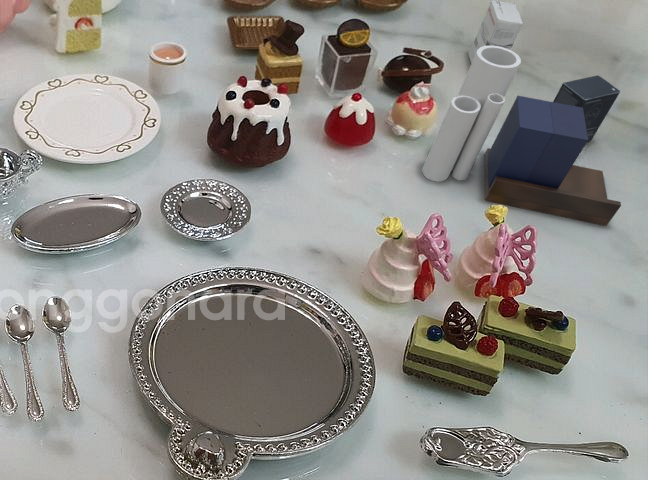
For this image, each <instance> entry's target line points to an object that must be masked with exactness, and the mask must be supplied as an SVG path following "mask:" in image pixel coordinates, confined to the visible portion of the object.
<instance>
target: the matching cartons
mask: <svg viewBox="0 0 648 480" xmlns="http://www.w3.org/2000/svg"><path fill="white" fill-rule="evenodd" d="M493 141H494V142H493V144H492V145H491V146H490V147H491V148H490V151H489V153H488V186H491V185H492V183H493V181H494V179H495V177H496V176H497V177H502V178H507V179H512V180H517V181H522V182H527V183H531V184H536V185H541V186H546V187H551V188H556V189H558V188H559V186H560V185H561V183H562V182H563V180H564V178H565V177H566V175H567V173H568V172H569V170H570V169H571V167H572V165H575V162H576V161H577V159H578V157H579V156H580V154H581V153H582V151H583V150H584V148H585V146H586V145H587V143H588V142H589V141H588V136H587V130H586V124H585V118H584V111H583V108H582V107H576V106H571V105H566V104H560V103H555V102H553V101H548V100H543V99H539V98H533V97H528V96H522V95H517V96H516V98H515V100H514V102H513V104H512V105H511V108H510V110H509V111H508V114H507V116H506V118H505V120H504V121H503V124H502V125H501V128H500V130H499V131H498V133H497V136H496V137H495V140H493ZM587 141H588V142H587Z"/></svg>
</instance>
